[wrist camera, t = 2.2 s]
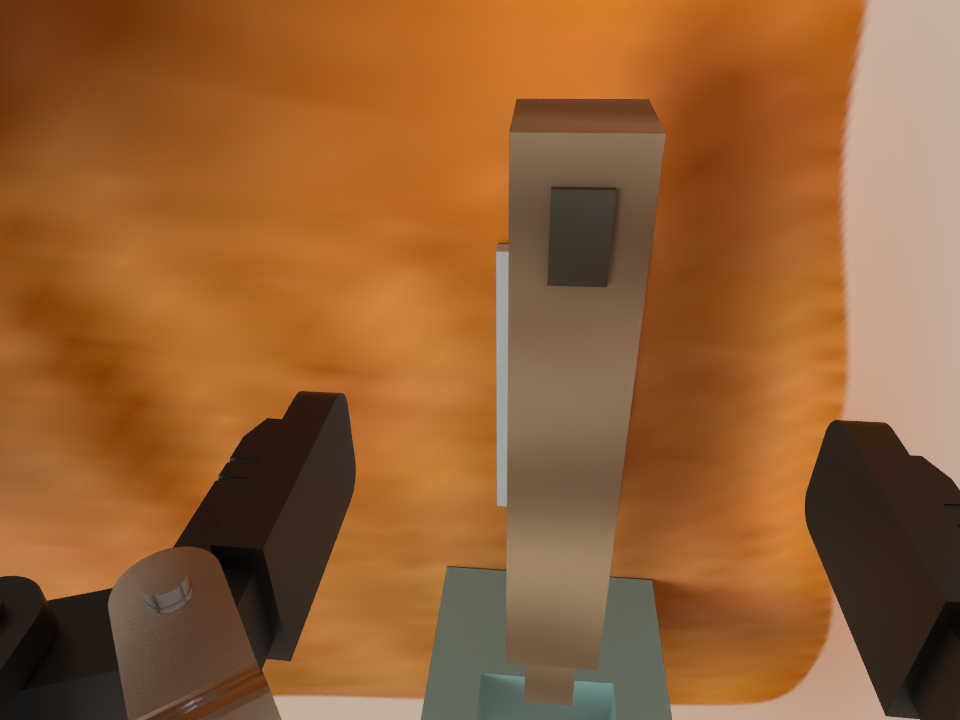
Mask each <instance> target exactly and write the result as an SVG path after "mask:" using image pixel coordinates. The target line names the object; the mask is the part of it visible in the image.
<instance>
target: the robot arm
mask: <svg viewBox="0 0 960 720" xmlns="http://www.w3.org/2000/svg"><path fill="white" fill-rule="evenodd" d="M355 474H356V465H355V456H354V448H353V441H352V434H351V426H350V419H349V411H348V404H347V400H346V397H345V395H344V394H343V393H326V392H307V391H300V392H298V393H297V395H296V396H295V398H294V399H293V401H292V403H291V405H290V406H289V408H288V410H287V412H286V413H285V415H284V417H283V418H282V419H270V418H267V419H266V420H265V421H263V422H262V423H261V424H259V425H258V426H257V427H255V428H254V429H253V430H252V431H250V432H249V433H248V434H246V435H245V436H244V437H243V438H242V440H241V442H240V443H239V445H238V446H237V448H236V449H235V451H234V453H233V454H232V456H231V457H230V462H227V464H226V465H225V467H224V468H223V470H222V471H221V473H220V475H219V480H218V481H215V482H214V484H213V486H212V487H211V489H210V490H209V492H208V493H207V495H206V497H205V498H204V500H203V501H202V503H201V505H200V506H199V508H198V509H197V511H196V512H195V514H194V516H193V517H192V519H191V520H190V522H189V523H188V525H187V527H186V528H185V530H184V531H183V533H182V534H181V536H180V538H179V539H178V541H177V542H176V544H175V545H174V547H173V548H170V549H165V550H162V551H159V552H156V553H154V554H152V555H149V556H147V557H146V558H144V559H142V560H140V561H139V562H137V563H136V564H134V565H133V566H132V567H130V568H129V569H128V570H127V571H126V572H125V573H124V574H123V575H122V576H121V577H120V578H119V580H118V581H117V582H116V584H115V585H114V587H113V588H110V589H106V590H102V591H96V592H91V593H86V594H81V595H75V596H70V597H65V598H59V599H54V600H49V601H47V600H46V598H45V596H44V594H43V592H42V591H41V589H40V587H39V586H38V585H37V583H36V582H34V581H32V580H30V579H28V578H25V577H19V576H4V577H0V720H281V717H280V715H279V712H278V709H277V707H276V705H275V701H274V699H273V696H272V694H271V691H270V688H269V686H268V683H267V681H266V678H265V676H264V674H263V672H262V671H261V670H262V668H263V666H264V663H265V661H266V659H274V660H285V661H291V659H292V656H293V654H294V651H295V648H296V645H297V643H298V640H299V637H300V635H301V632H302V629H303V627H304V624H305V621H306V619H307V616H308V613H309V611H310V608H311V605H312V603H313V600H314V597H315V595H316V592H317V589H318V587H319V584H320V581H321V579H322V576H323V573H324V571H325V568H326V565H327V563H328V560H329V557H330V555H331V552H332V549H333V547H334V544H335V541H336V538H337V536H338V533H339V530H340V528H341V525H342V522H343V520H344V517H345V514H346V512H347V509H348V506H349V504H350V501H351V498H352V495H353V490H354V485H355ZM805 516H806V523H807V527H808V530H809V532H810V535H811V537H812V540H813V542H814V544H815V547H816V549H817V552H818V554H819V557H820V559H821V561H822V564H823V566H824V569H825V571H826V573H827V576H828V578H829V581H830V583H831V585H832V588H833V590H834V593H835V595H836V597H837V600H838V602H839V604H840V607H841V609H842V612H843V614H844V617H845V619H846V621H847V624H848V626H849V629H850V631H851V633H852V636H853V638H854V641H855V643H856V645H857V648H858V650H859V652H860V655H861V658H862V660H863V662H864V665H865V667H866V669H867V672H868V674H869V677H870V679H871V681H872V684H873V686H874V689H875V691H876V694H877V696H878V698H879V701H880V703H881V706H882V708H883V710H884V713H885V715H886V716H890V717H902V718H914V719H920V720H960V490H959V489H958V487H957V486H956V484H955V483H954V482H953V480H952V479H950V477H948V476H947V475H946V474H944V473H943V472H942V471H940V470H939V469H938V468H936V467H935V466H934V465H932V464H931V463H930V462H929V461H927V460H926V459H925V458H923V457H922V456H910V455H909V453H908V452H907V450H906V449H905V447H904V446H903V444H902V443H901V441H900V440H899V438H898V437H897V435H896V434H895V432H894V431H893V429H892V428H891V427H890V426H889V425H888V424H886V423H882V422H881V423H880V422H862V421H843V420H835V421H833V422H831V423H830V425H829V426H828V428H827V430H826V433H825V436H824V439H823V442H822V445H821V448H820V452H819V455H818V458H817V461H816V464H815V467H814V470H813V473H812V476H811V479H810V483H809V486H808V489H807V492H806V498H805Z"/></svg>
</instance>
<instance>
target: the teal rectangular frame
mask: <svg viewBox="0 0 960 720" xmlns="http://www.w3.org/2000/svg"><path fill="white" fill-rule="evenodd" d="M524 695H525V665H524V664H511V663H506V571H504V570H488V569H473V568H457V567H447V569H446V575H445V581H444V587H443V593H442V599H441V605H440V611H439V616H438V622H437V628H436V634H435V640H434V646H433V652H432V658H431V663H430V669H429V675H428V681H427V687H426V693H425V699H424V705H423V711H422V717H421V720H672V715H671V708H670V701H669V694H668V688H667V681H666V674H665V667H664V660H663V653H662V646H661V639H660V632H659V625H658V618H657V611H656V604H655V597H654V590H653V583H652V580H644V579H628V578H613V577H609V585H608V593H607V601H606V609H605V617H604V625H603V632H602V640H601V648H600V656H599V664H598V670H590V669H577V668H576V670H575V680H574V690H573V700H572V706H568V705H556V704H544V703H531V702H524Z"/></svg>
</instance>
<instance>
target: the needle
mask: <svg viewBox="0 0 960 720" xmlns="http://www.w3.org/2000/svg"><path fill="white" fill-rule="evenodd" d="M665 138H666V133H665V131H664V129H663V127H662V125H661V123H660V121H659V119H658V117H657V115H656V113H655V111H654V109H653V107H652V105H651V103H650V101H649V99H517V101H516V105H515V110H514V114H513V119H512V123H511V128H510V132H509V265H508V412H507V560H506V663H511V664H524V665H525V695H524V702H531V703H544V704H556V705H568V706H572V700H573V690H574V680H575V670H576V668H577V669H590V670H598V664H599V656H600V648H601V640H602V632H603V625H604V617H605V609H606V601H607V593H608V585H609V577H610V570H611V562H612V554H613V546H614V538H615V530H616V523H617V515H618V507H619V499H620V491H621V483H622V475H623V468H624V460H625V452H626V444H627V436H628V428H629V421H630V413H631V405H632V397H633V389H634V381H635V373H636V366H637V358H638V350H639V342H640V334H641V326H642V319H643V311H644V303H645V295H646V287H647V279H648V271H649V264H650V256H651V248H652V240H653V232H654V224H655V217H656V209H657V201H658V193H659V185H660V177H661V169H662V162H663V154H664V146H665Z"/></svg>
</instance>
